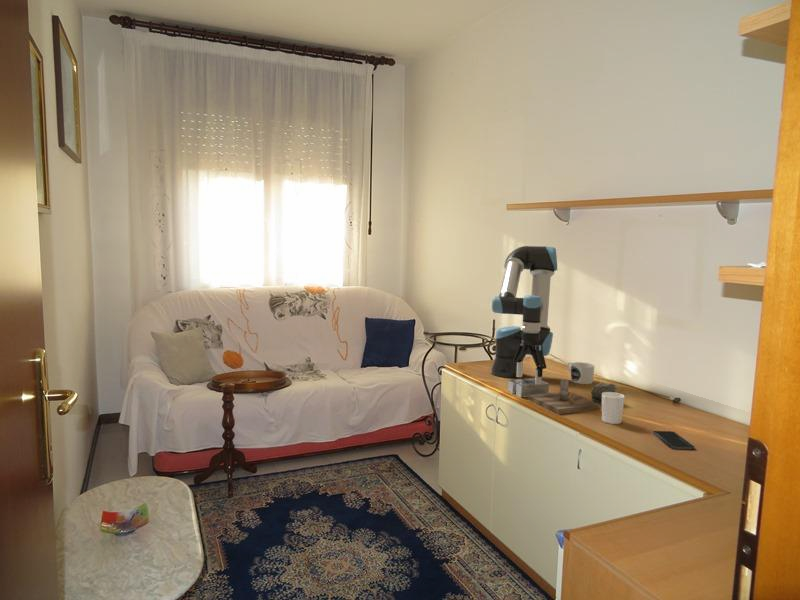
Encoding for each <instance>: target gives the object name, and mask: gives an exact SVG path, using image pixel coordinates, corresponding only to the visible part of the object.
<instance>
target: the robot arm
mask: <svg viewBox="0 0 800 600" xmlns="http://www.w3.org/2000/svg"><path fill="white" fill-rule="evenodd" d="M503 266H504V269H505V270H504V274H503V278H502V282H501V286H500V291H499V294H498V296H493V298H492V300H491V311H492V312H493V313H494V314H500V315H501V314H502V315H521V316H522V327H521V326H504V327H500V328H498V329H497V330H496V336H495V357H494V360H493V363H492V366H491V369H490V372H491V373H490V374H492V375H493V376H496V377H502V378H522V377H523V375H524V374H523V373H524V372H523V371H524V359H525V357H526V356H527V355H528V356H531V357H532V359H533V361H534V364H535V367H536V368H535V377H534V378H535V384H536V385H538V384H541V381H543V380H542V378H543V370H545V369H547V363H546V360H545V357H547V356H549V354H550V352H551V348H552V344H553V337H554V333H553V332H552V331H551V327H550V326H549V325H548V323H549V321H548V320H549V319H548V318H549V309H550V308H549V307H550V291H551V279H552V276H554V275H555V272H556V271H558V256H557V249H556V247H553V246H547V245H546V246H543V245H542V246H539V245H538V246H537V245H536V246H535V245H534V246H533V245H532V246H531V245H524V246H520V247H517V248H515V249H514V250H512V251H511V252H510V253H508V255H507V257H506V258H505V261H504V265H503ZM524 270H529V272H530V273H529V274H530V275H531V276H532V281H531V282H532V284H531V294H530V295H525V296H523V297H517V294H518V289H519V288H518V287H519V282H520V278H521V274H522V272H523V271H524Z"/></svg>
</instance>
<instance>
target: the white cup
mask: <svg viewBox="0 0 800 600" xmlns="http://www.w3.org/2000/svg"><path fill="white" fill-rule="evenodd" d="M625 399H626V398H625V395H624V394H622V393H619V392H617V393H615V392H604V393H602V405H601V420H602V422H603V423H606V424H610V425H611V424H612V425H618V424H621V423H622V419H623V415H624V414H623V411H624V406H625V405H624V403H625Z"/></svg>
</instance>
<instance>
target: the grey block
mask: <svg viewBox="0 0 800 600" xmlns="http://www.w3.org/2000/svg"><path fill="white" fill-rule="evenodd" d="M549 389H550V383H549V382H546V381H544V380H542V381H541V384H538V385H536V384H535V377H531V378H528V377H527V378H520V379H519V378H518V379H510V380H509V379H508V381H507V392H508V391H510V392H512V393H516V394H515V396H516V395H517V396H516V397H518V396H519V397H518V398H520V397H524V398H529V396H530V395H539V394H548V393H549ZM510 392H509V393H510ZM512 393H511V394H512Z"/></svg>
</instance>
